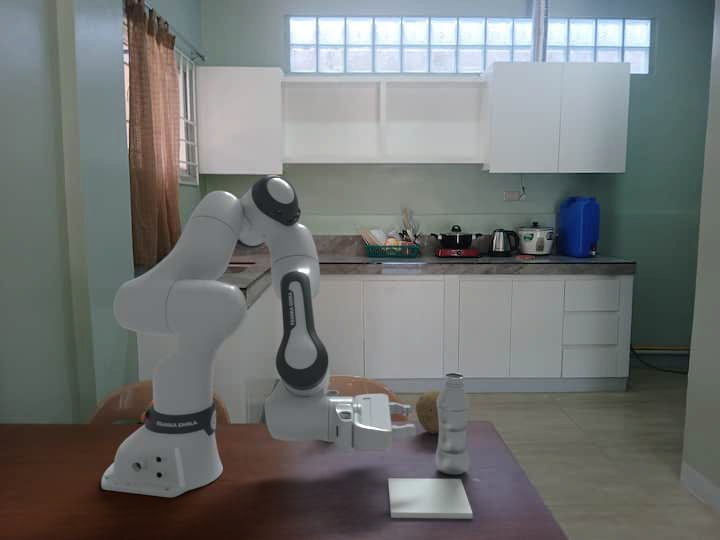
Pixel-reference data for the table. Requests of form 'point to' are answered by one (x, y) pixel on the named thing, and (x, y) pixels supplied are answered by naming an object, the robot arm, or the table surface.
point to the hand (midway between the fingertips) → (413, 419)
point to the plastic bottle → (452, 426)
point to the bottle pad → (428, 498)
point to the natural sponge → (428, 411)
